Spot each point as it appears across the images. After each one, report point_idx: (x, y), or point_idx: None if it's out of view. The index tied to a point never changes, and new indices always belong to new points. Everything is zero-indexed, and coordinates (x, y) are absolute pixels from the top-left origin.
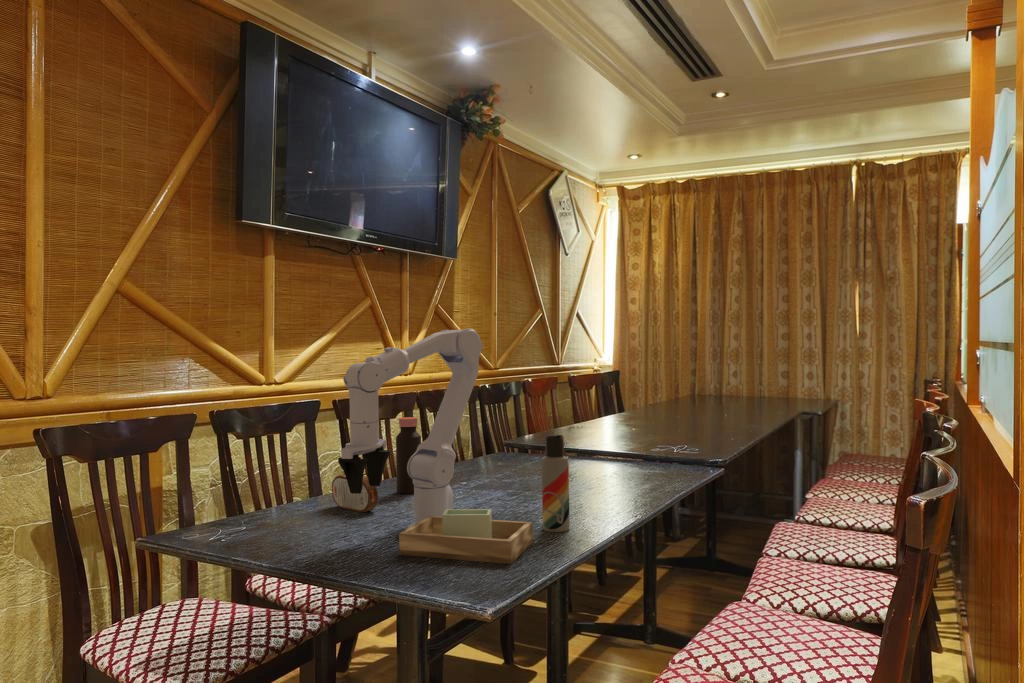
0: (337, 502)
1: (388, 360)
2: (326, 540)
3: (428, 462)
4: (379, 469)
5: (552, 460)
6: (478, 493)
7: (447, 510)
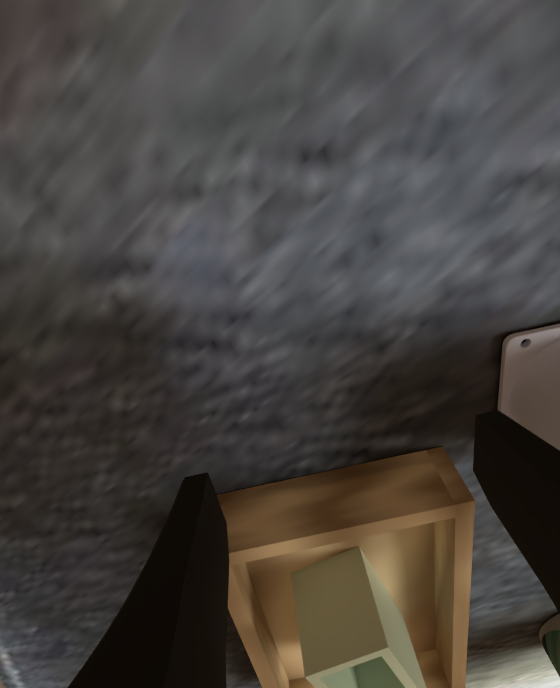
0: None
1: None
2: (216, 116)
3: None
4: (556, 589)
5: None
6: None
7: (374, 657)
